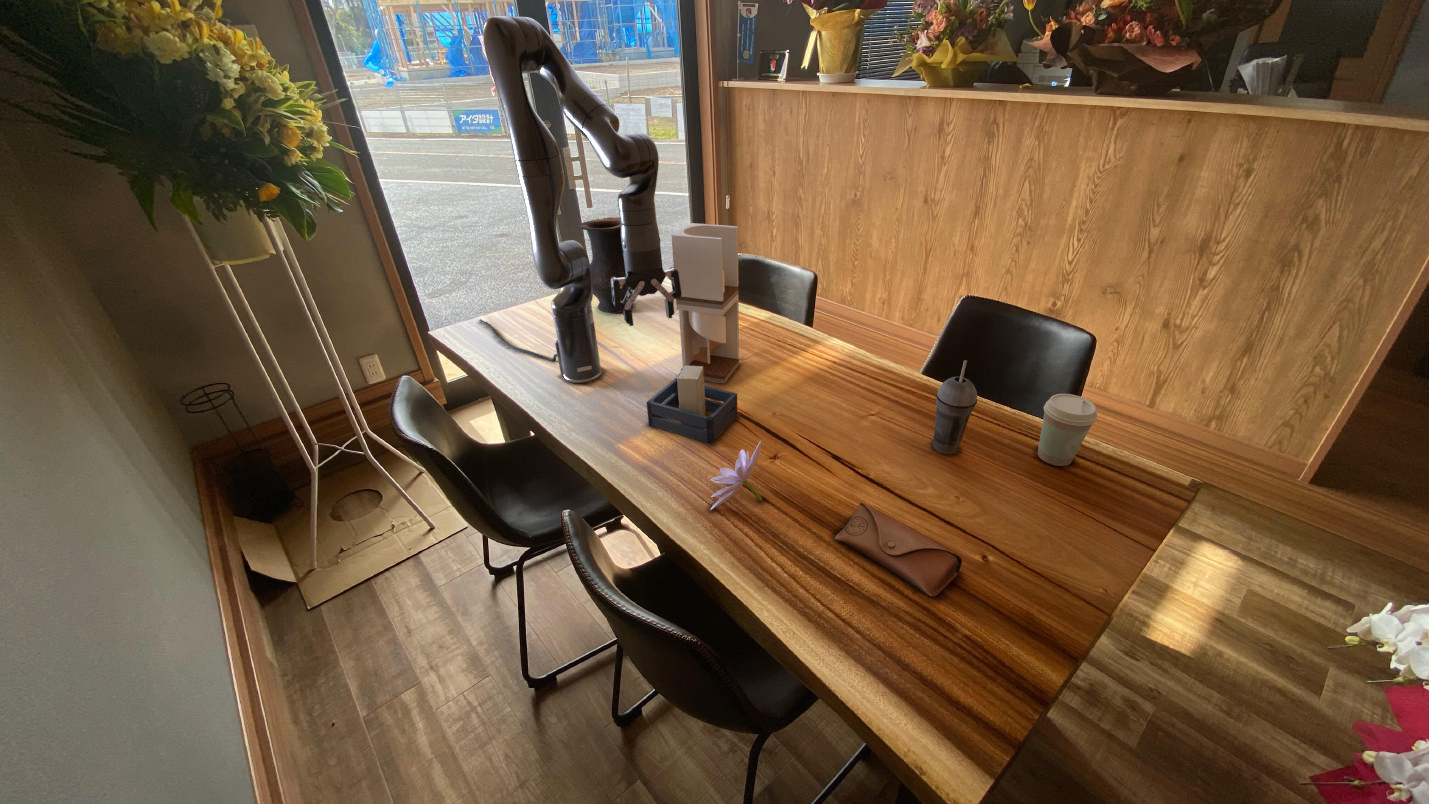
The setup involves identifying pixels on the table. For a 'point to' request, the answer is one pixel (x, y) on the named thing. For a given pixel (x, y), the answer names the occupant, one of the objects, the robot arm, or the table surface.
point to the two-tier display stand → (708, 298)
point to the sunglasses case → (900, 550)
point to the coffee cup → (1065, 427)
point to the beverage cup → (953, 412)
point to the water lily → (736, 476)
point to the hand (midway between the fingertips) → (650, 320)
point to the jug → (606, 260)
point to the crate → (712, 424)
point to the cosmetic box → (692, 390)
